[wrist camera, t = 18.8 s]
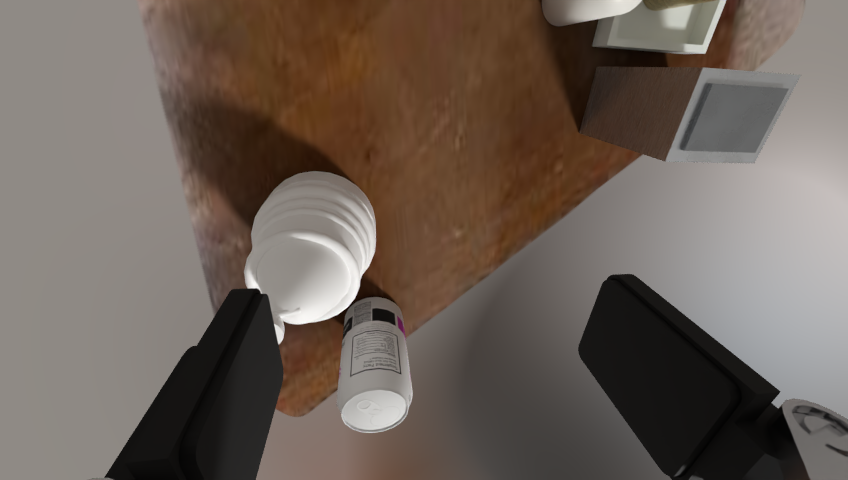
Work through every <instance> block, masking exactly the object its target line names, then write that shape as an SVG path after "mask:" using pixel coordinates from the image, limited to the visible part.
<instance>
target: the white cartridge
mask: <svg viewBox="0 0 848 480" xmlns="http://www.w3.org/2000/svg"><path fill="white" fill-rule="evenodd" d="M641 1H642V0H542V11H543V14H544V17H545V18H546V20H547V21H548V22H549V23H550V24H552V25H554V26H565V25H570V24H575V23H580V22H586V21H591V20H596V19H601V18H606V17H611V16H616V15H621V14H625V13H627V12H629V11H631V10H632V9H634V8H635V7H636V6H637V5H638V4H639V3H640V2H641Z"/></svg>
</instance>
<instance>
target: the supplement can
mask: <svg viewBox="0 0 848 480" xmlns="http://www.w3.org/2000/svg"><path fill="white" fill-rule="evenodd" d="M412 395H413V392H412V384H411V377H410V369H409V361H408V354H407V346H406V339H405V331H404V323H403V316H402V313H401V309H400V308H399V307H398V306H397V305H396V304H395V303H394V302H392V301H390V300H388V299H386V298H380V297H370V298H365V299H362V300H360V301H357V302H356V303H354V304H353V305H352V306H351V307H350V308H349V309H348V311H347V313H346V315H345V321H344V332H343V342H342V352H341V362H340V373H339V383H338V394H337V406H338V408H339V410H340V412H341V414H342V419H343V421H344V423H345V424H346V425H347V426H349V427H350V428H351V429H353V430H356V431H360V432H366V433H375V432H382V431H386V430H388V429H391V428H394V427H395V426H396V425H398V424H399V423H401V422H402V421H403V420H404V418H405V417H406V416H407V413H408V408H409V406H410V404H411V400H412Z"/></svg>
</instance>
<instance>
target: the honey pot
mask: <svg viewBox="0 0 848 480" xmlns="http://www.w3.org/2000/svg"><path fill="white" fill-rule="evenodd" d="M251 238H252V251H251V253H250V255H249V256H248V258H247V261H246V266H245V270H244V275H245V283H246V286H247V288H248V289H249V288H258V289H259V290H260V292H261V294H267V295H268V297H269V302H270V307H271V311H272V316H273V321H274V326H275V331H276V336H277V341H278V344H279V343H281V341H282V340H283V337H284V324H283V321H285V322H287V323H290V324H305V323H309V322H317V321H322V320H326V319H328V318H331V317H333V316H336V315H338V314H339V313H341V312H342V311H343V310H345V309H346V308H347V307H348V306H349V305H350V304H351V303H352V301H353V300H354V299H355V297H356V295H357V292H358V290H359V287H360V279H361V277H362V275H363V273H364V272H365V271H366V269H367V268H368V267H369V265H370V263H371V260H372V258H373V255H374V253H375V245H376V223H375V216H374V211H373V207H372V206H371V204H370V202H369V200H368V198H367V196H366V195H365V194H364V193H363V192H362V191H361V190H360V189H359V188H358V186H356V185H355V184H353V183H352V182H350V181H349V180H347V179H346V178H344V177H341V176H338V175H335V174H333V173H330V172H319V171H311V172H304V173H299V174H296V175H294V176H292V177H290V178H287V179H285V180H284V181H283V182H282V183H281V184H279V185H278V186H277V187H276V188H275V189H274V190H273V191H272V193H271V194H270V195H269V197H268V198H267V200H266V201H265V202H264V204H263V205H262V206H261V208H260V210H259V211H258V213H257V214H256V216H255V219H254V223H253V228H252V232H251ZM282 320H283V321H282Z"/></svg>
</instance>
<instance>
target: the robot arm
mask: <svg viewBox="0 0 848 480" xmlns="http://www.w3.org/2000/svg"><path fill="white" fill-rule="evenodd" d="M578 351H579V355H580V358H581V359H582V361H583V362H584V363H585V365H586V366H587V368H588V369H589V370H590V372H591V373H592V375H593V376H594V377H595V379H596V380H597V382H598V383H599V384H600V386H601V387H602V389H603V390H604V391H605V393H606V394H607V395H608V397H609V398H610V400H611V401H612V402H613V404H614V405H615V407H616V408H617V409H618V411H619V412H620V414H621V415H622V416H623V418H624V419H625V421H626V422H627V423H628V425H629V426H630V428H631V429H632V430H633V432H634V433H635V434H636V436H637V437H638V439H639V440H640V442H641V443H642V444H643V446H644V447H645V448H646V450H647V451H648V452H649V454H650V455H651V457H652V458H653V460H654V461H655V462H656V464H657V465H658V467H659V468H660V469H661V470H662V472H664V473H665V474H666V475H668V476H670V478H671V479H672V480H848V419H846V418H845V417H843V416H841V415H839V414H837V413H836V412H834V411H832V410H830V409H827V408H825V407H823V406H820V405H818V404H816V403H812V402H809V401H805V400H800V399H790V400H786V401H785V402H784V403H783V404H782V405H781V406H780V407H779V408H777V407H775V406H774V405H773V404H772V403H771V402H772V401H773V400H774V399H775V398H776V396H777V395H778V394H779V393H780V391H779V390H778V389H777V388H775V387H774V386H773V385H771V384H770V383H769V382H768V381H766V380H765V379H764V378H763V377H761V376H760V375H759V374H758V373H756V372H755V371H754V370H753V369H751V368H750V367H749V366H748V365H746V364H745V363H744V362H743V361H741V360H740V359H739V358H738V357H736V356H735V355H734V354H733V353H731V352H730V351H729V350H728V349H726V348H725V347H724V346H723V345H721V344H720V343H719V342H718V341H716V340H715V339H714V338H712V337H711V336H710V335H709V334H707V333H706V332H705V331H704V330H703V329H701V328H700V327H699V326H697V325H696V324H695V323H694V322H692V321H691V320H690V319H689V318H687V317H686V316H685V315H684V314H682V313H681V312H680V311H678V310H677V309H676V308H675V307H674V306H672V305H671V304H670V303H669V302H667V301H666V300H665V299H664V298H662V297H661V296H660V295H659V294H657V293H656V292H655V291H654V290H652V289H651V288H650V287H649V286H647V285H646V284H645V283H644V282H642V281H641V280H640V279H639V278H637V277H636V276H634V275H632V274H622V275H611V276H609V277H608V278H607V280H605V281H604V282H603V284H602V286H601V288H600V291H599V294H598V296H597V299H596V302H595V305H594V307H593V310H592V312H591V315H590V318H589V320H588V323H587V325H586V328H585V331H584V333H583V336H582V339H581V341H580V344H579V348H578ZM282 381H283V365H282V360H281V355H280V350H279V346H278V341H277V336H276V331H275V326H274V321H273V316H272V311H271V307H270V302H269V297H268V295H267V294H261V292H260V290H259V289H258V288H249V289H233V290H231V291H230V292H229V294H228V296H227V297H226V299H225V301H224V302H223V304H222V305H221V307H220V309H219V310H218V312H217V314H216V315H215V317H214V318H213V320H212V322H211V324H210V325H209V327H208V328H207V330H206V332H205V333H204V335H203V337H202V338H201V340H200V341H199V343H198V345H197V346H192V347H191V348H189V349H188V350H187V351H186V352H185V353H184V355H183V356H182V357H181V359H180V361H179V362H178V364H177V365H176V367H175V368H174V370H173V372H172V373H171V375H170V376H169V378H168V380H167V381H166V382H165V384H164V386H163V387H162V389H161V390H160V392H159V393H158V395H157V397H156V398H155V400H154V401H153V403H152V404H151V406H150V407H149V409H148V411H147V412H146V414H145V415H144V417H143V418H142V420H141V421H140V423H139V425H138V426H137V428H136V429H135V431H134V432H133V434H132V435H131V437H130V438H129V440H128V442H127V443H126V445H125V446H124V448H123V449H122V451H121V453H120V454H119V456H118V458H117V459H116V460H115V462H114V463H113V465H112V467H111V468H110V470H109V471H108V473H107V474H106V476H105V477H104V478H92V479H89V480H256V476H257V472H258V469H259V465H260V461H261V458H262V454H263V451H264V447H265V443H266V440H267V436H268V433H269V429H270V425H271V422H272V418H273V414H274V411H275V407H276V404H277V400H278V396H279V393H280V389H281V385H282Z"/></svg>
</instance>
